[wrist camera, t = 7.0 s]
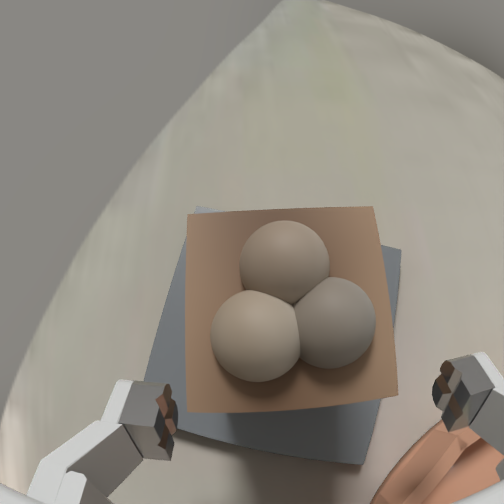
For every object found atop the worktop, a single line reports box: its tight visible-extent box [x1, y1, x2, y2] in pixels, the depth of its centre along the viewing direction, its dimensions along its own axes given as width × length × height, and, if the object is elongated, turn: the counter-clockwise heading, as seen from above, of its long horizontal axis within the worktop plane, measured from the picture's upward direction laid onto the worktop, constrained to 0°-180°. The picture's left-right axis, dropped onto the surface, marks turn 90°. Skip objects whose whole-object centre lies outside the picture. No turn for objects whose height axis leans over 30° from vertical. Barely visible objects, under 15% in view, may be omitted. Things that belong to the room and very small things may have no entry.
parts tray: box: [144, 206, 401, 465], centre depth 16 cm, size 12×12×1 cm
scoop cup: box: [185, 206, 398, 413], centre depth 11 cm, size 6×6×9 cm
